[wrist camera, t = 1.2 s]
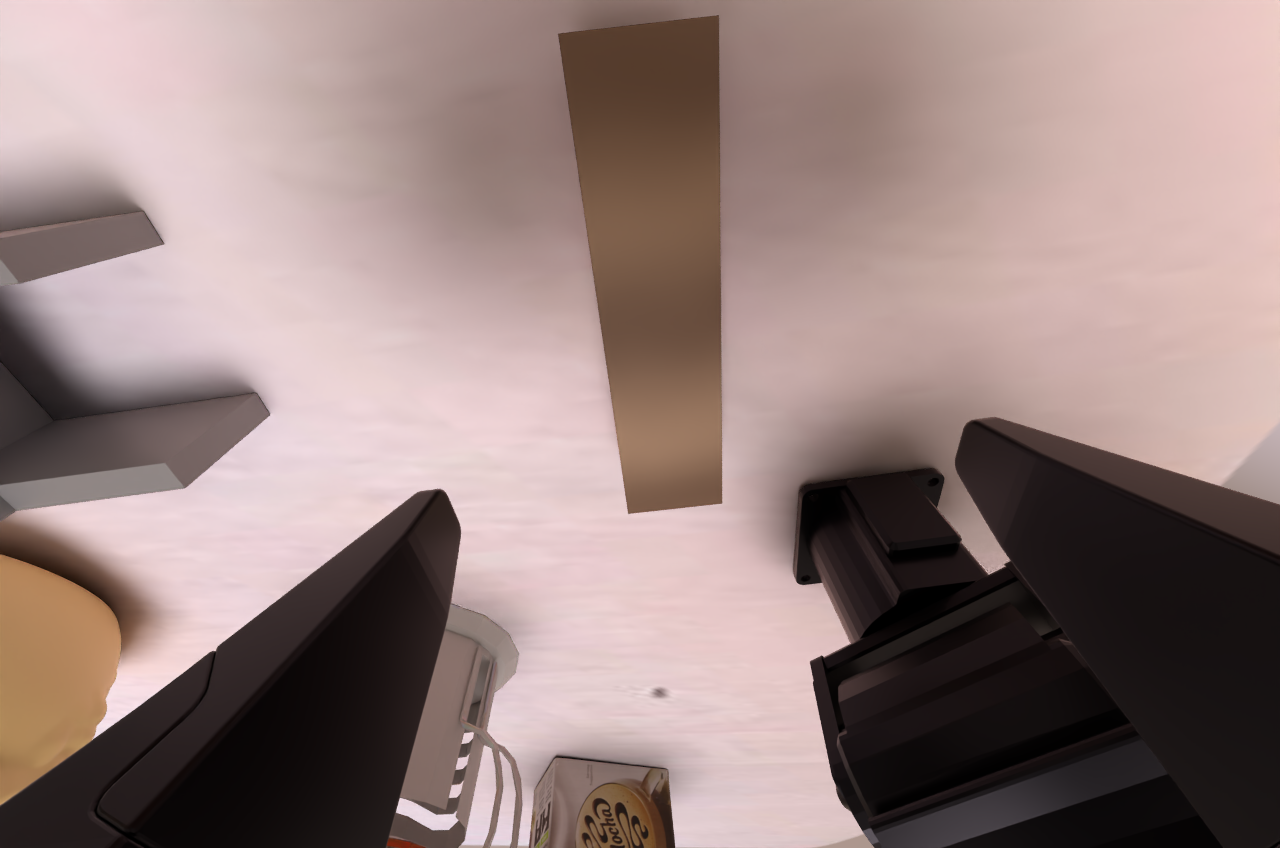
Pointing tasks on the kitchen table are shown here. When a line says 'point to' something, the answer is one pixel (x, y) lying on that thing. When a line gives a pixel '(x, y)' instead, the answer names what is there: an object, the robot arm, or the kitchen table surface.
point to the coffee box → (601, 807)
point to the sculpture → (50, 670)
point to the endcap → (114, 442)
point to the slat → (655, 245)
